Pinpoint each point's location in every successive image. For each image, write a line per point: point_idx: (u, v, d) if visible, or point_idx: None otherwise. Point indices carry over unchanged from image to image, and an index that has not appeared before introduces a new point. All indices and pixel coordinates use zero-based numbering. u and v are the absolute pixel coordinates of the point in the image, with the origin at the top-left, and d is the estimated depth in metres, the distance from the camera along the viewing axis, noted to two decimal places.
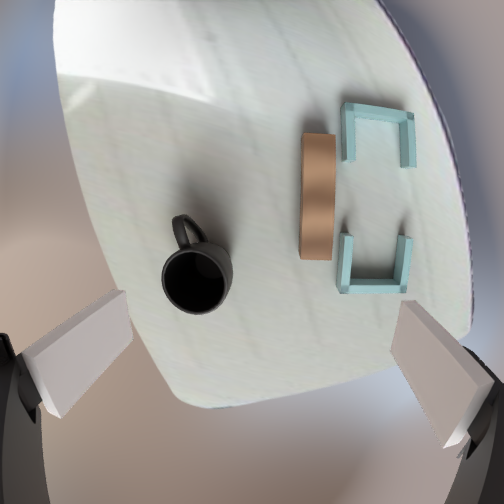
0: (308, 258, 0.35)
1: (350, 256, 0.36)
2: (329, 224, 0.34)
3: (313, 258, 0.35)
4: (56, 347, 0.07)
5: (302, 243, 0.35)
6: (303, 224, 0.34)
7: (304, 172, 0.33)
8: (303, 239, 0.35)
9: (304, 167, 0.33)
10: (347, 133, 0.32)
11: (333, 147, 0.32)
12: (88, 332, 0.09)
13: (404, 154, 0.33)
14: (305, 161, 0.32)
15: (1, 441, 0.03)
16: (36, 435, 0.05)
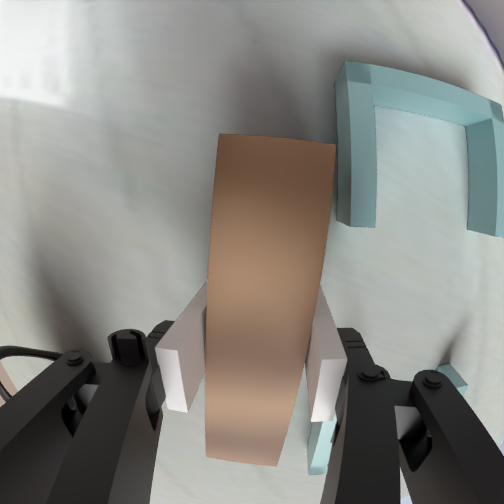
0: (223, 458, 0.12)
1: None
2: (280, 415, 0.11)
3: (234, 460, 0.12)
4: (189, 338, 0.09)
5: (207, 436, 0.12)
6: (207, 407, 0.11)
7: (211, 276, 0.10)
8: (209, 431, 0.12)
9: (212, 259, 0.10)
10: (354, 146, 0.11)
11: (324, 192, 0.09)
12: (204, 322, 0.11)
13: (482, 201, 0.12)
14: (216, 239, 0.10)
15: (115, 462, 0.04)
16: (153, 444, 0.06)
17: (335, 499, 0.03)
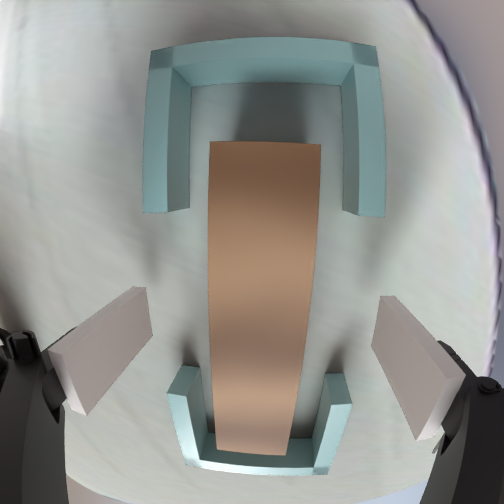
0: (233, 450, 0.13)
1: (188, 425, 0.14)
2: (285, 404, 0.12)
3: (244, 451, 0.13)
4: (83, 343, 0.08)
5: (217, 429, 0.13)
6: (215, 400, 0.12)
7: (211, 275, 0.11)
8: (218, 424, 0.13)
9: (211, 259, 0.11)
10: (146, 134, 0.11)
11: (311, 190, 0.10)
12: (112, 328, 0.10)
13: (350, 171, 0.12)
14: (213, 240, 0.10)
15: (22, 443, 0.03)
16: (59, 435, 0.05)
17: (451, 500, 0.02)
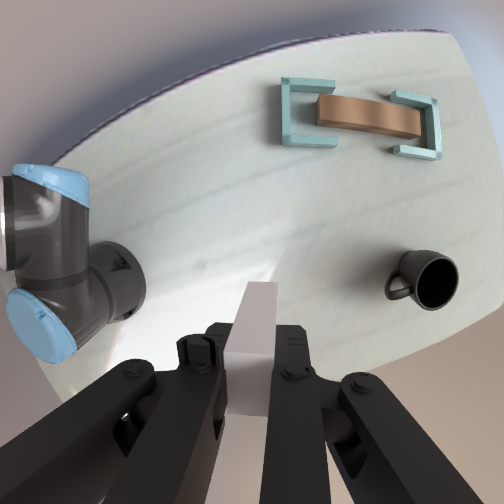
0: (419, 129, 0.33)
1: (415, 148, 0.35)
2: (394, 108, 0.33)
3: (419, 125, 0.33)
4: None
5: (409, 132, 0.33)
6: (395, 129, 0.34)
7: (354, 122, 0.34)
8: (406, 130, 0.33)
9: (350, 122, 0.34)
10: (313, 142, 0.37)
11: (331, 96, 0.34)
12: None
13: (321, 89, 0.36)
14: (345, 120, 0.34)
15: (179, 480, 0.04)
16: (213, 454, 0.06)
17: (259, 500, 0.03)
